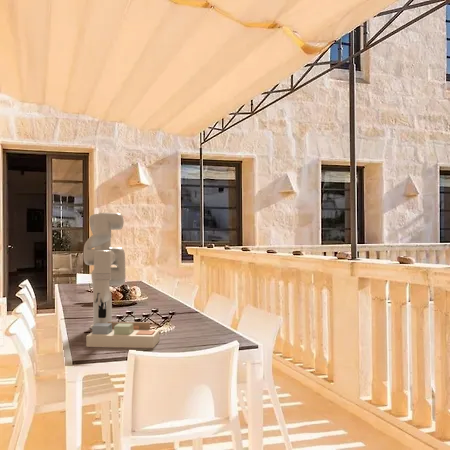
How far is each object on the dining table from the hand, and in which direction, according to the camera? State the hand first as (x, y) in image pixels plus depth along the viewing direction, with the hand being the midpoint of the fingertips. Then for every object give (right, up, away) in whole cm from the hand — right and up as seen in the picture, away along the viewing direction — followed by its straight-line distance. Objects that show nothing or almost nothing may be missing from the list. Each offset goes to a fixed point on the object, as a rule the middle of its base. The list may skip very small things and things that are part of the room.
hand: (102, 317), depth 231 cm
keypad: (+10, -12, +1) cm, 16 cm away
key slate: (0, -7, +1) cm, 7 cm away
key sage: (+10, -7, 0) cm, 12 cm away
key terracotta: (+20, -10, -1) cm, 22 cm away
